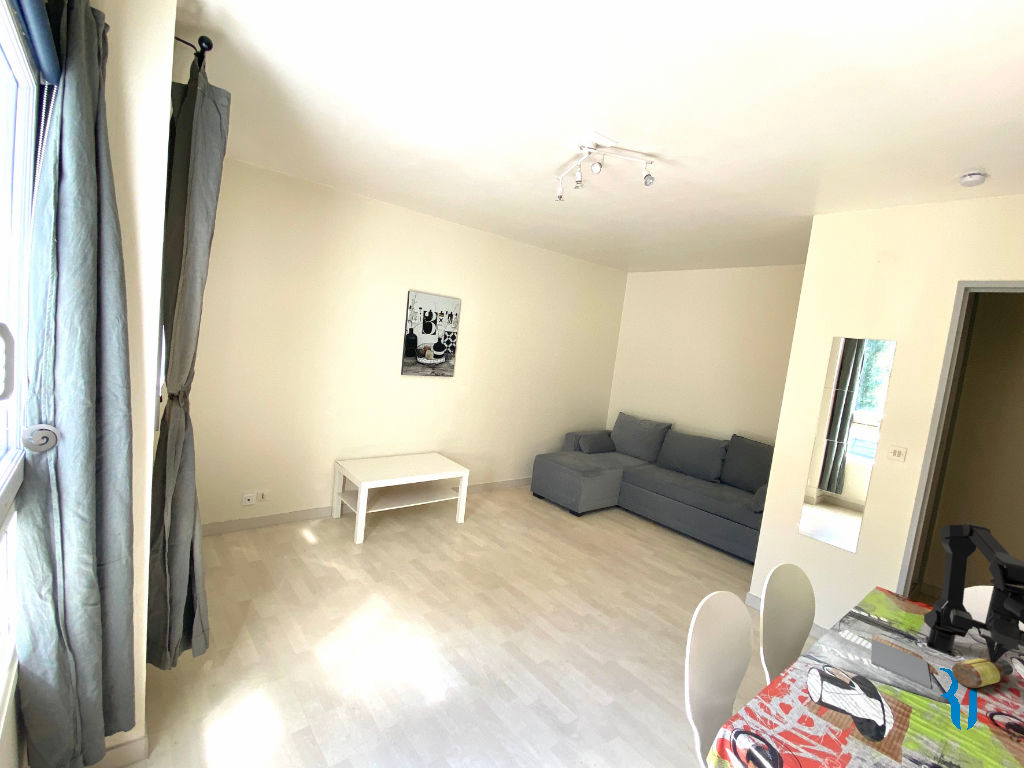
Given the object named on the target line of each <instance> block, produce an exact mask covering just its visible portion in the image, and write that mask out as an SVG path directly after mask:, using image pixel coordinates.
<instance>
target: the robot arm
mask: <svg viewBox="0 0 1024 768" xmlns="http://www.w3.org/2000/svg"><path fill="white" fill-rule="evenodd" d="M939 536H940V543H941V545H942V547H943V548H944V550H945V551H946V553H945V554H946V555H945V564H944V572H943V583H942V588H941V589H942V591H941V597H940V598H939V599H937V600H936V601H935V602H934V603H933V607H932V610H929V611H928V612H927V613H924V615H923V622H924V623H925V624H926V625H927V627H929V628H930V631H929V635H928V636H925V642H926V646H927V647H928V648H931V649H934V650H936V651H938V652H940V653H944V654H946V655H949V656H952V657H955V656H956V654H955V650H954V644H955V640H956V636H958V637H961V638H965V637H966V635H967V634H968V632H969V630H972V629H973V628H976V629H977V632H978V636H979V637H980V638H982V639H983V640H984V641H985V643H986V644H985V645H986V647H987V653H988V656H989V657H988V658H989V659H990V662H993V663H995V662H996V661H997V660H998V659H1001V657H1003V656H1004V655H1005V654H1007V652H1009V651H1013V650H1014V651H1020V647H1023V648H1024V630H1023V629H1020V625H1019V624H1020V623H1022V624H1023V625H1024V561H1023V560H1020V559H1018V558H1016V557H1015V556H1012V555H1011V554H1010V553H1009V552H1008V551H1007V550H1006V548H1005V547H1003V545H1002V544H1001V543H1000V542H999V541H998V540H997V539H996V538H995V537H994V535H992V532H991V530H990V528H988V527H986V526H983V525H979V524H973V523H964V524H945V525H944V526H941V528H940V530H939ZM977 550H979V552H981V554H982V555H983V556H984V558H985V559H986V560H987V561H988V562H989V565H988V568H987V569H988V570H989V573H991V576H992V579H990V580H989V582H990V584H992V585H993V587H992V592H991V597H990V601H989V605H988V609H987V612H986V617H985V622H982V621H979V620H977V619H974V618H973V616H972V614H971V613H970V612H969V611H967V609H966V607H965V606H964V597H965V587H966V579H967V577H966V576H967V569H968V562H969V560H968V559H969V557H971V555H973V554H974V553H976V551H977Z"/></svg>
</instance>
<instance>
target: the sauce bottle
mask: <svg viewBox="0 0 1024 768" xmlns="http://www.w3.org/2000/svg"><path fill="white" fill-rule="evenodd" d="M951 671H952V672H951V673H952V675H953V678H955V680H957V682H958V683H960V685H962V686H964V687H966V688H971V689H972V688H973V689H975V688H976V689H977V688H982V687H986V686H989V685H993V684H997V683H999V682H1000V681H1002V680H1003V679H1004V678H1005V677H1006V676H1010V675H1012V674H1013V673H1014V667H1013V666H1012V664H1011V663H1010V662H1009V661H1007V660H1006V659H1003V658H999V659H998V660H997V661H996V662H995V663H993V662H990V658H989V657H978V658H973V659H967V660H962V661H958V662H956V663H954V664H953V665H952V667H951Z"/></svg>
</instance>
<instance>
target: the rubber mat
mask: <svg viewBox="0 0 1024 768" xmlns="http://www.w3.org/2000/svg"><path fill="white" fill-rule="evenodd" d="M870 657H871V660H870V661H871V664H872V665H874V666H876V667H879V668H881V669H883V670H885V671H888V672H891V673H893V674H895V675H897V676H900V677H902V678H904V679H907V680H909V681H911V682H914V683H915V684H916V683H917V684H918V685H921V686H923V687H926V688H928V689H930V690H931V689H932V685H931V678H930V671H929V665H928V660H926V659H923V658H921V657H918V656H915V655H913V654H911V653H907V652H905V651H903V650H901V649H898V648H896V647H892V646H890V645H887V644H885V643H883V642H880V641H877V640H875V639H873V638H872V641H871V656H870Z"/></svg>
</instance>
